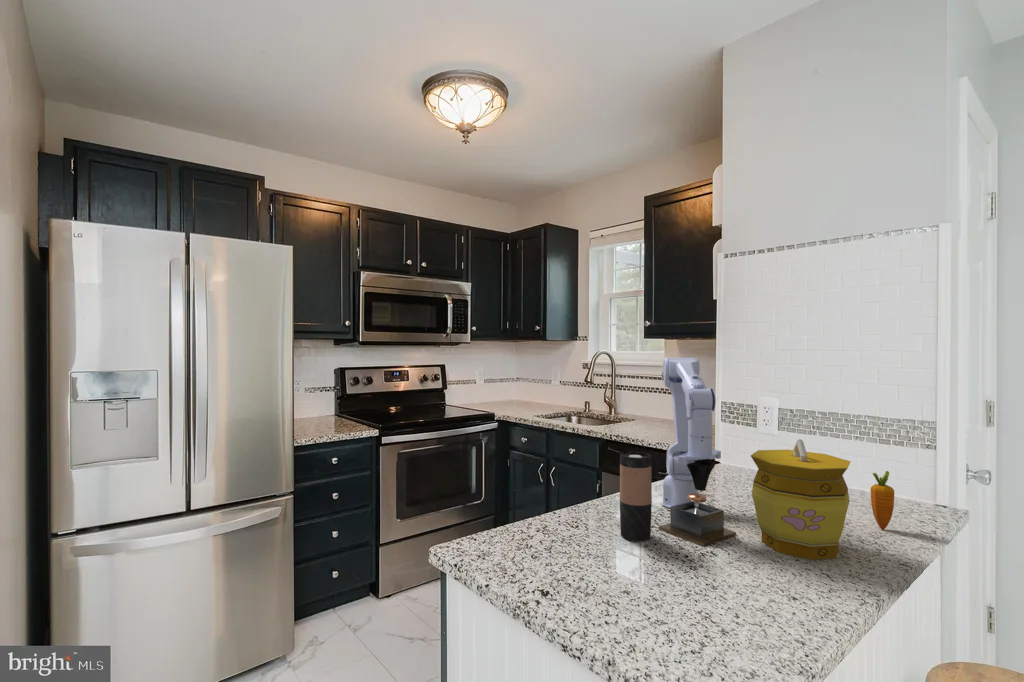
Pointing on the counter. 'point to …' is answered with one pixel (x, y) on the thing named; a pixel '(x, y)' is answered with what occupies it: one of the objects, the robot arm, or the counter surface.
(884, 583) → the counter surface
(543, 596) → the counter surface
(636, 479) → the travel mug
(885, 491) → the carrot
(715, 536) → the knob box on board
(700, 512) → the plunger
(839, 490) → the container
